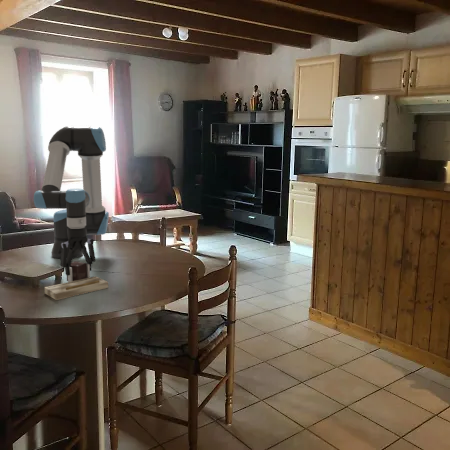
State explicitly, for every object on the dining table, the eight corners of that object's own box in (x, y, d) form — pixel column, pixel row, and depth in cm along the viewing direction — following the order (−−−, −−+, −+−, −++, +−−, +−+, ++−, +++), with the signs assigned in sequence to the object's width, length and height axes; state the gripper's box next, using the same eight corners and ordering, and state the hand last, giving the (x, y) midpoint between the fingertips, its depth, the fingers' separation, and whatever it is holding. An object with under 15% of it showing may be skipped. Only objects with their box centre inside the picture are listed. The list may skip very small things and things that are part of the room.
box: (87, 279, 201) (86, 262, 200) (77, 283, 196) (77, 266, 194) (76, 277, 204) (75, 260, 202) (66, 281, 198) (65, 264, 197)
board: (44, 293, 185) (44, 285, 185) (95, 281, 200) (95, 274, 200) (56, 300, 178) (55, 291, 178) (108, 287, 193) (108, 280, 193)
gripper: (57, 231, 185) (60, 287, 189) (103, 225, 199) (105, 277, 203) (49, 228, 190) (51, 283, 195) (94, 222, 204) (96, 273, 208)
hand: (79, 280), depth 199 cm, fingers closed on box, 7 cm apart
